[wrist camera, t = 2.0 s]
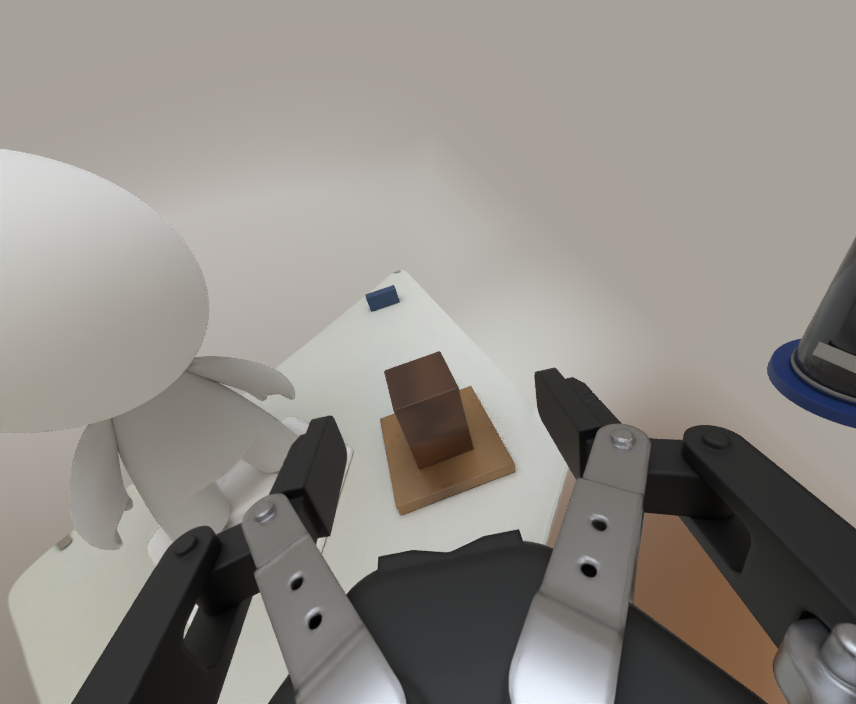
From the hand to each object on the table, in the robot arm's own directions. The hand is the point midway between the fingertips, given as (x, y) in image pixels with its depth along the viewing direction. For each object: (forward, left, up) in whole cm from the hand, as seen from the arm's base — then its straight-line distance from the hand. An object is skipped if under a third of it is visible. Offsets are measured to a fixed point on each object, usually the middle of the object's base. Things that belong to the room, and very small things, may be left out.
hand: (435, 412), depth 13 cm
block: (0, -15, -21) cm, 26 cm away
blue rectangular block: (+1, -53, -21) cm, 57 cm away
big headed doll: (+21, -17, -21) cm, 35 cm away
